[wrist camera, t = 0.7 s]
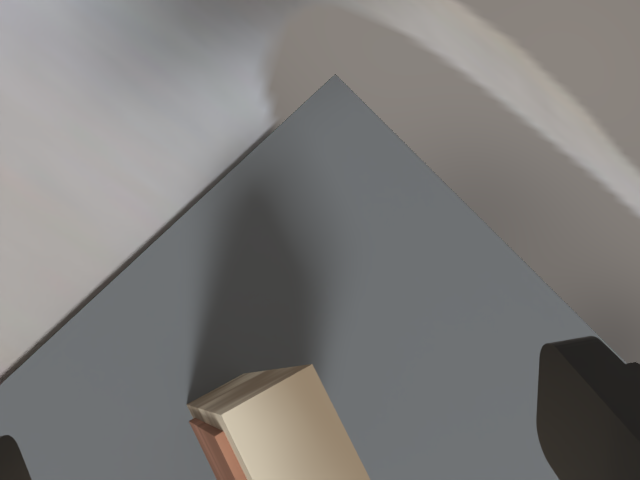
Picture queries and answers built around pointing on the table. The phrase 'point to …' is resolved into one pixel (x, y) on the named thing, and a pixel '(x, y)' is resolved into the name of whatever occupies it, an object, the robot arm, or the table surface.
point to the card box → (274, 429)
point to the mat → (306, 319)
